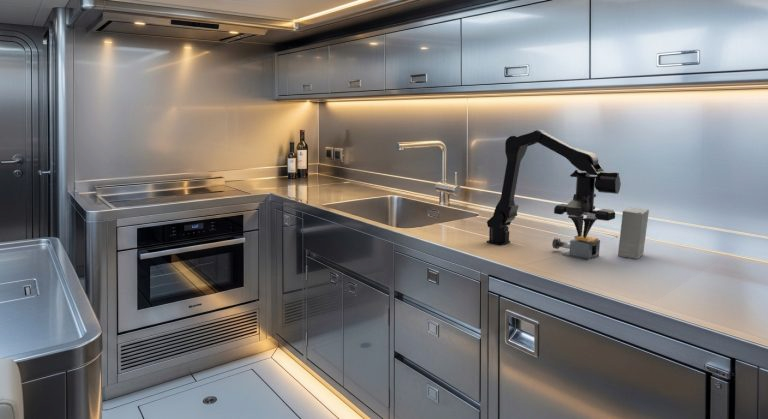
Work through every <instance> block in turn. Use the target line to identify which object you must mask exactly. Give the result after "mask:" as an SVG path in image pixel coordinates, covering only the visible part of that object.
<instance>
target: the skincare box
mask: <svg viewBox="0 0 768 419" xmlns="http://www.w3.org/2000/svg"><path fill="white" fill-rule="evenodd" d="M649 213H650V209H647V208H641V207H635V206H629V207H627V208H626V209H624V210H622V216H621V224H620V225H621V226H620V235H619V242H618V250H617V256H618V257H624V258H628V259H635V260H638V259H639V258H640V257H642V256H643V254H644V253H645V252H644V250H645V242H646V236H647V228H648V220H649Z"/></svg>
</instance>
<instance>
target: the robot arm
mask: <svg viewBox="0 0 768 419" xmlns="http://www.w3.org/2000/svg"><path fill="white" fill-rule="evenodd" d="M535 144H539V145H541V146H544V147H546V148H547V149H549V150H551V151H553V152H554V153H556V154H557V155H560V156H561V157H564V158H565V159H566V160H568V162H570V164H571V165H572V166H573V167H575V168H576V169H575V170H574V171H573V172H572V173H570V175H569V177H571V178H576V184H575V193H574V194H573V197H572V200H570V201H569V202H568V203H567V204H566V203H561V204H556V205H555V207H554V208H553V213H554V215H555V214H556V215H564V214H565V213H566V215H567V218H568V219H570V220H571V221H573V224H574V226H575V229H576V232H577V235H578V236H581V235H583V237H586V236H588V235H589V232H590V230H591V228H592V226H594V224H595V222H596V221H606V222H607V221H611V220H614V219H616V212H615V210H613V209H607V208H601V209H597V210H596V206H595V203H594V202H595V198H596V197H597V194H596V193H595V190H597V192H598V193H604V194H605V193H606V194H619V192H620V189H621V185H622V182H621V178H620V172H619V171H613V172H611V171H605V170H604V169H603V167H602V166H601V164H600V162H599V158H598V155H597V153H594V152H591V151H588V150H584V149H580V148H576V147H574V146H572V145H571V144H568V143H566V142H565V141H563V140H560V139H558V138H557V137H555V136H553V135H551V134H549V133H547V132H546V131H545V130H542V129H541V130H540V129H538V130H537V129H536V130H533V131H532V132H529V133H525V134H521V135H520V134H518V135H511V136H508V138H506V140H505V142H504V152H505V156H506V165H505V171H504V177H503V182H502V183H503V184H502V188H501V196H500V199H499V201H498V202H497V204H496V206H495V209H494V210H493V211H494V212H493V214H492V217H490V218H489V219H488V220H487V221H486V224H487V228H489V229H488V230H489V232H488V233H489V235H488V236H489V238H488V240H486V243H489V244H493V245H500V246H502V245H505V244H509V243H511V240H510V230H509V226H510V225H511V223H512V221H514V220H515V218H516V217H517V216H518V210H519V204H516V203H515V194H516V188H517V184H518V177H519V172H520V166H521V162H522V160H523V158H524V157H525V154H526V152H527V149H528V147H531V146H533V145H535ZM584 216H586V217H584Z"/></svg>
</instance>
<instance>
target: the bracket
mask: <svg viewBox="0 0 768 419" xmlns="http://www.w3.org/2000/svg"><path fill="white" fill-rule="evenodd" d="M595 238H598V236H597V237H595ZM569 243H570V249H569V250H568V251H566V252H563V253H562V254H561V255H562V256H565V257H571V258H575V259H580V260H586V261H589V260H592V259H595V258H598V257H599V256H600V250H601V248H600V245H601V240H600V239H599V238H598V241H595V242H592V243H591V242H590V240H588V241H583V240H579V239H575V238H574V239H571V240H569Z"/></svg>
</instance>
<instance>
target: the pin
mask: <svg viewBox="0 0 768 419" xmlns="http://www.w3.org/2000/svg"><path fill="white" fill-rule="evenodd" d="M551 244H552V248H553V249H557V250H559V249H560V248H564V249H568V250H570V242H567V241H566V242H565V241H561V238H558V237H557V238H556V237H555V238H553V240H552V243H551Z"/></svg>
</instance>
